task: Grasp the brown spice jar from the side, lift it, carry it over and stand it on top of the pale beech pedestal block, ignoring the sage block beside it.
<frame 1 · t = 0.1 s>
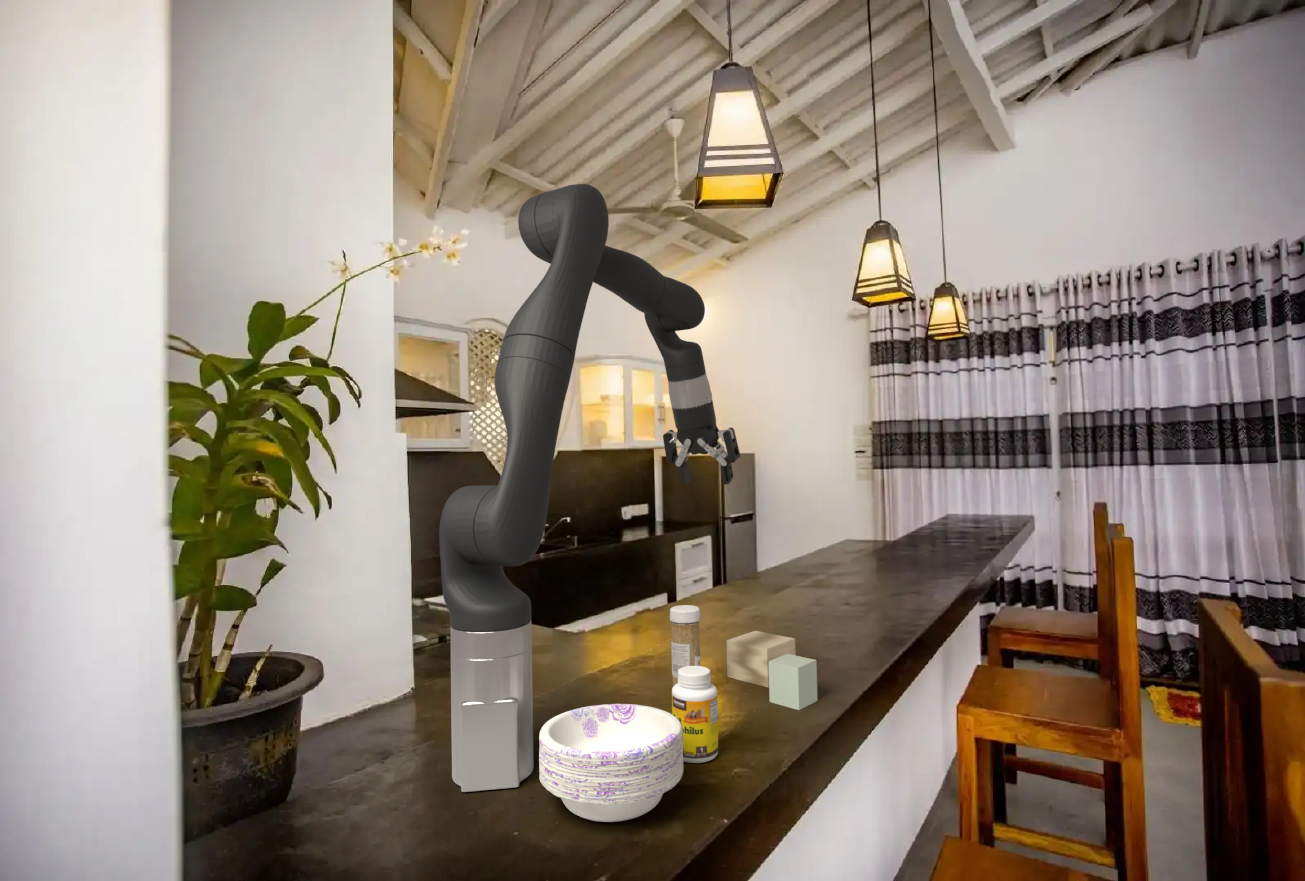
hand: (707, 482, 128), 31 cm above the worktop, tool tilted 20°, fingers open, 8 cm apart
sage block: (793, 701, 100), on the worktop
supplement bottle: (695, 756, 83), on the worktop
brown spice jar: (686, 698, 103), on the worktop
beech pedestal: (761, 676, 112), on the worktop
paper bowls: (612, 802, 72), on the worktop
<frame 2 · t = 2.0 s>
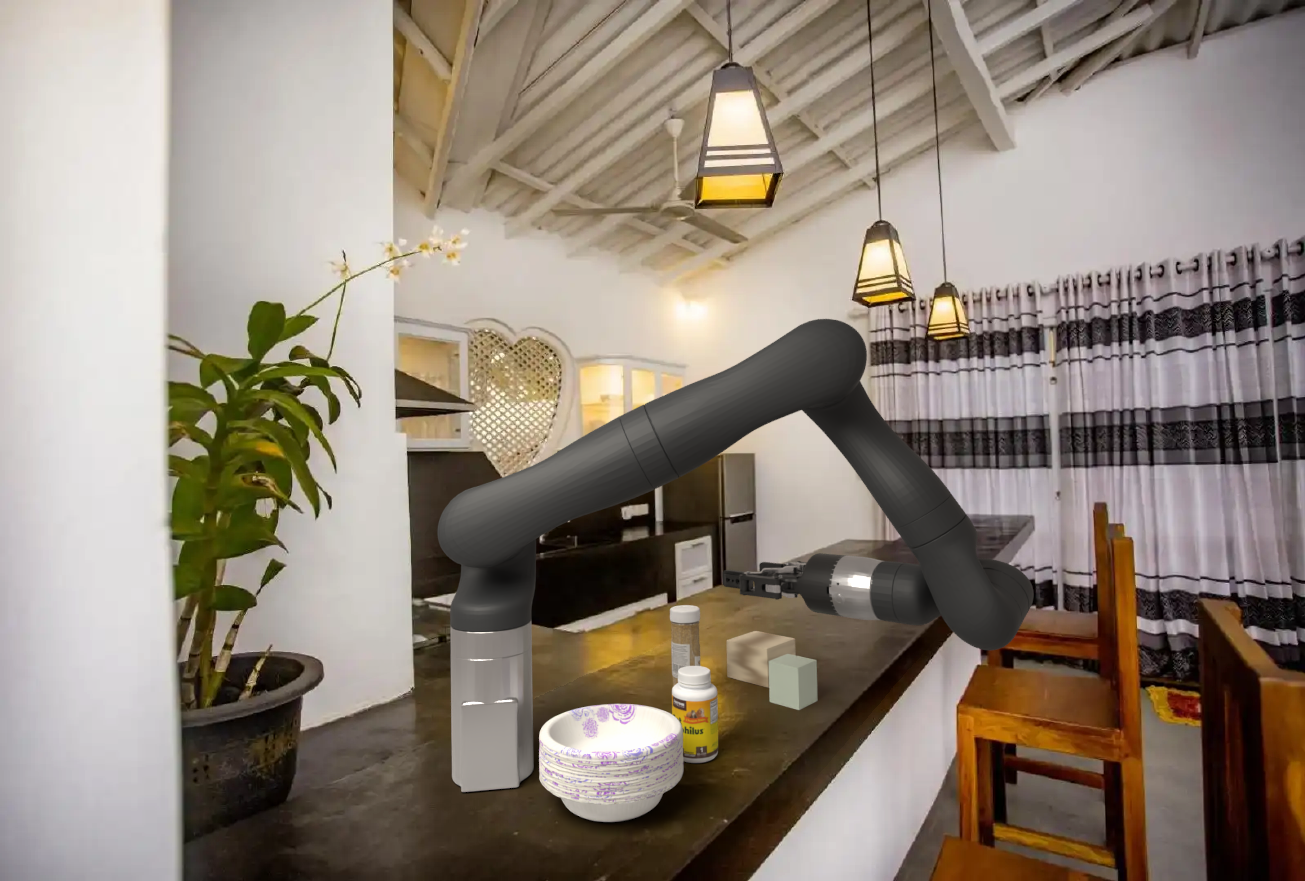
hand: (743, 573, 96), 20 cm above the worktop, tool horizontal, fingers open, 8 cm apart
nothing on the worktop moved.
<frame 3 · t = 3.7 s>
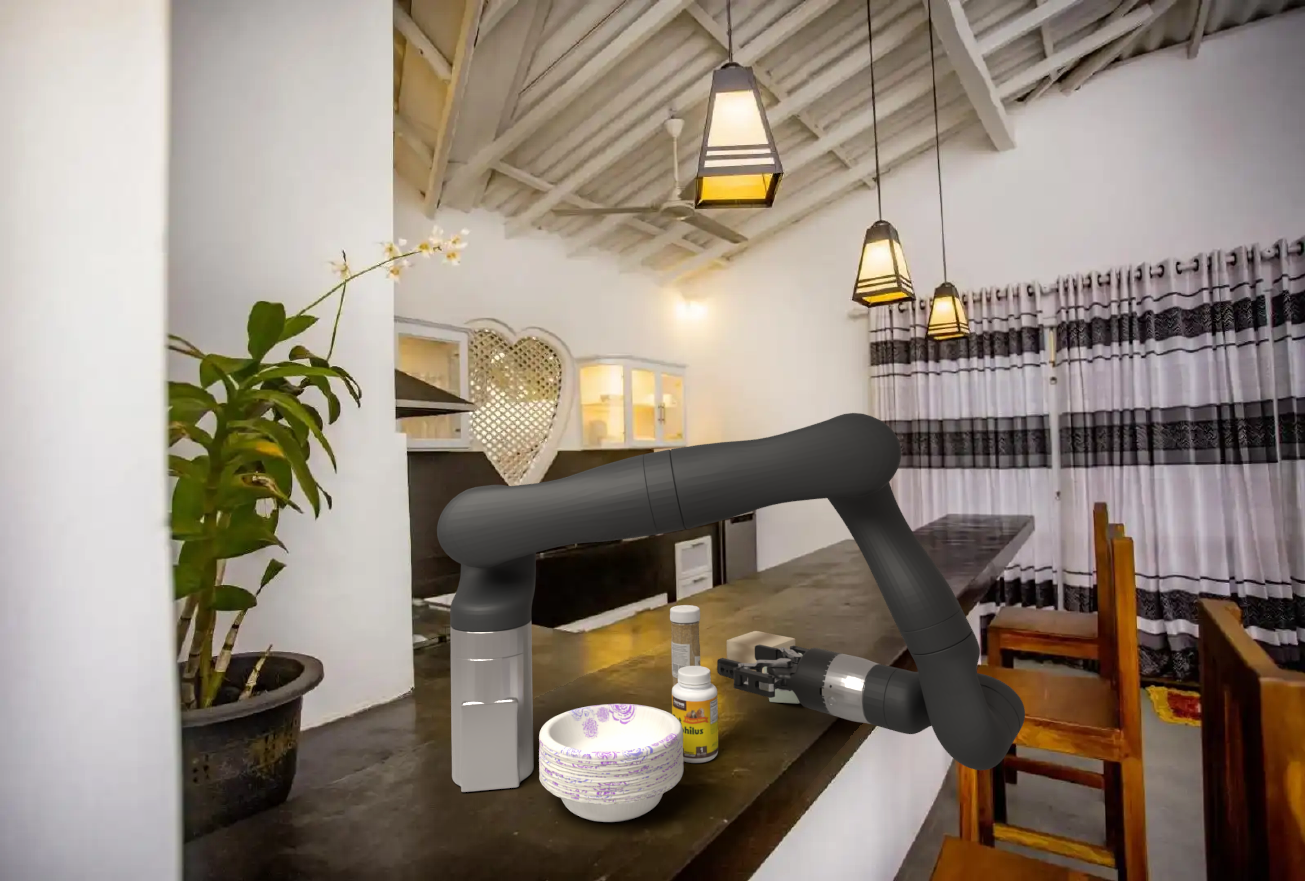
hand: (737, 658, 96), 8 cm above the worktop, tool horizontal, fingers open, 8 cm apart
sage block: (793, 698, 100), on the worktop, tilted 11°, touching gripper, hand
everything else where it was.
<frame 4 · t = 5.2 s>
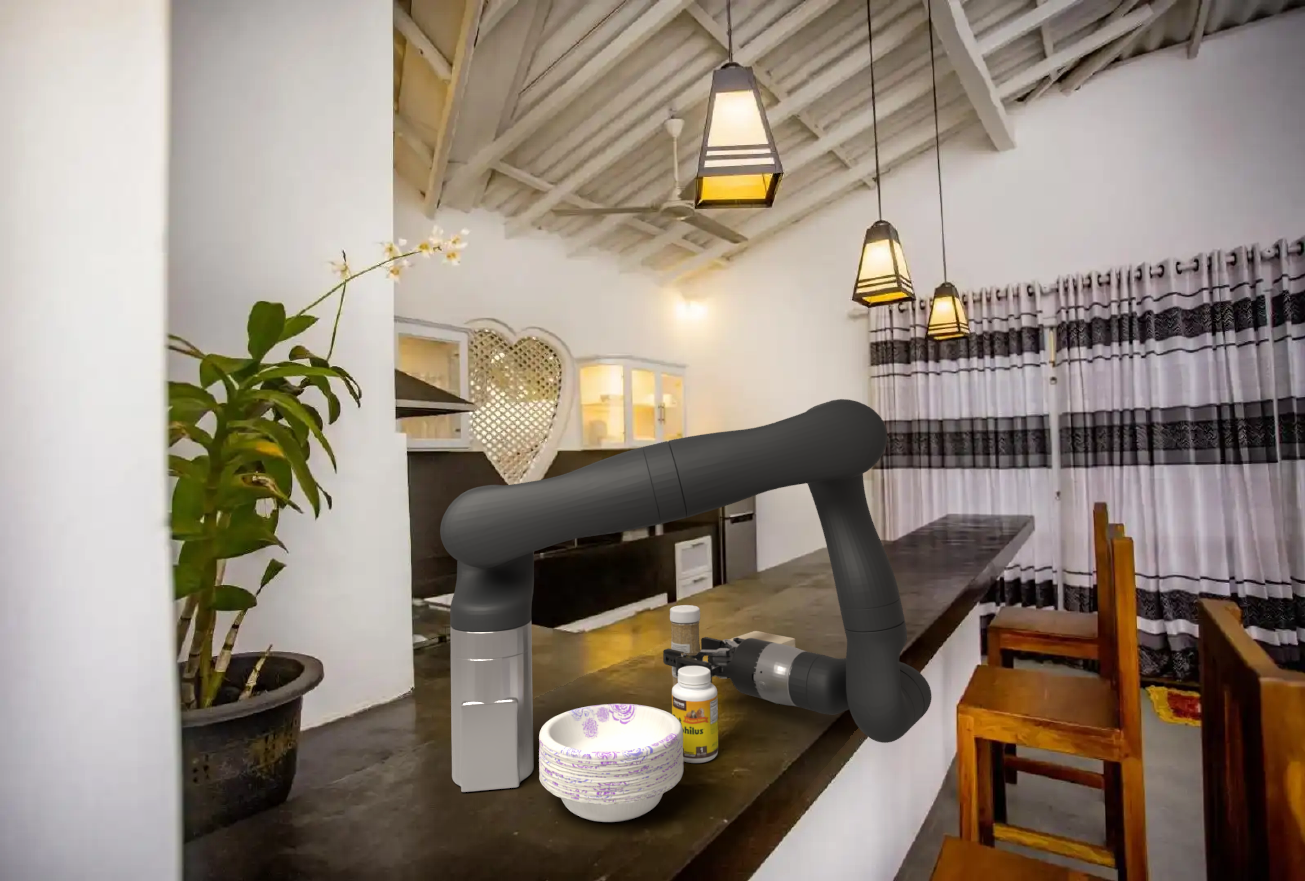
hand: (684, 649, 103), 7 cm above the worktop, tool horizontal, fingers open, 8 cm apart
sage block: (789, 684, 101), point 2 cm above the worktop, tilted 90°
everything else where it was.
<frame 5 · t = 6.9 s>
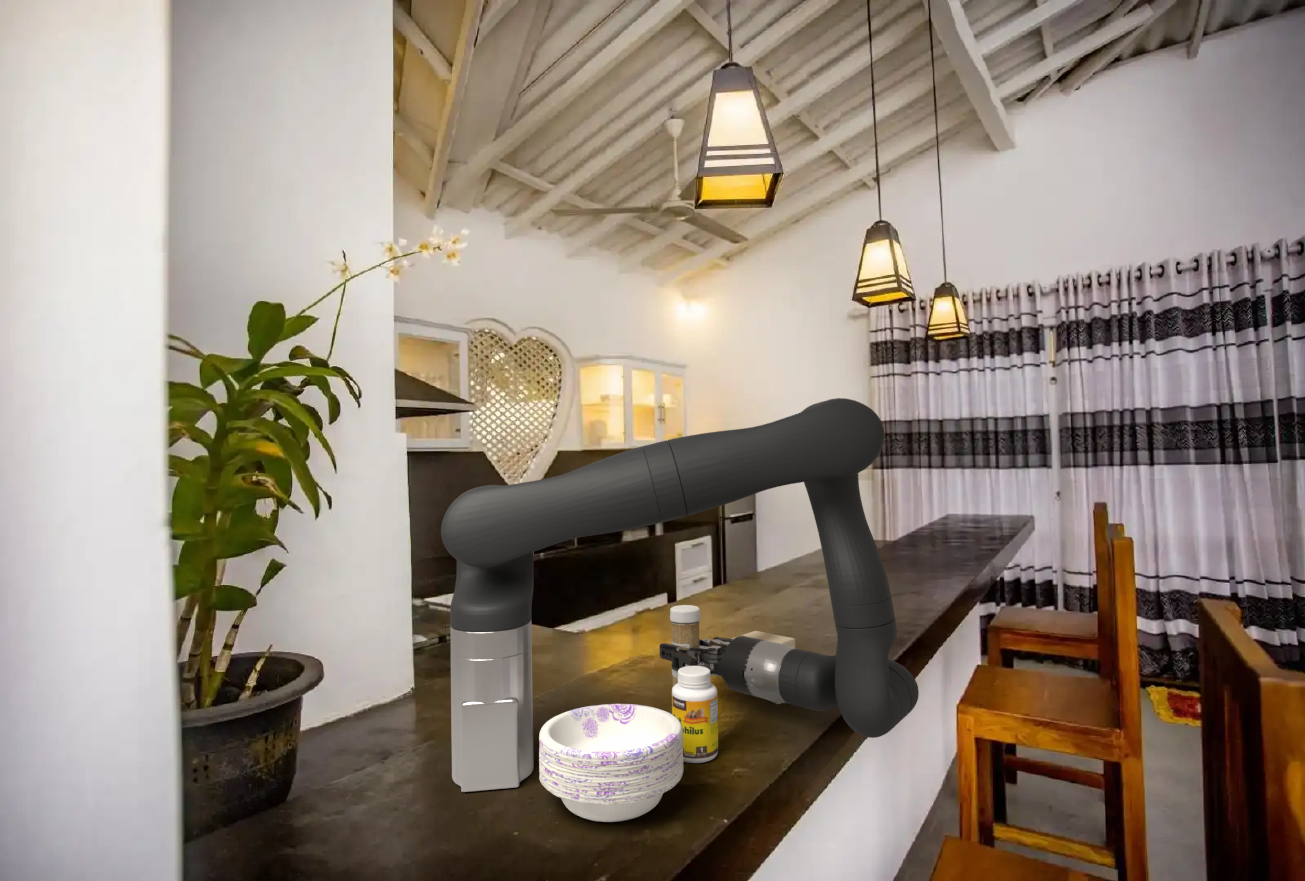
hand: (672, 646, 105), 7 cm above the worktop, tool horizontal, fingers closed on brown spice jar, 4 cm apart
brown spice jar: (686, 698, 103), on the worktop, touching gripper
everything else where it was.
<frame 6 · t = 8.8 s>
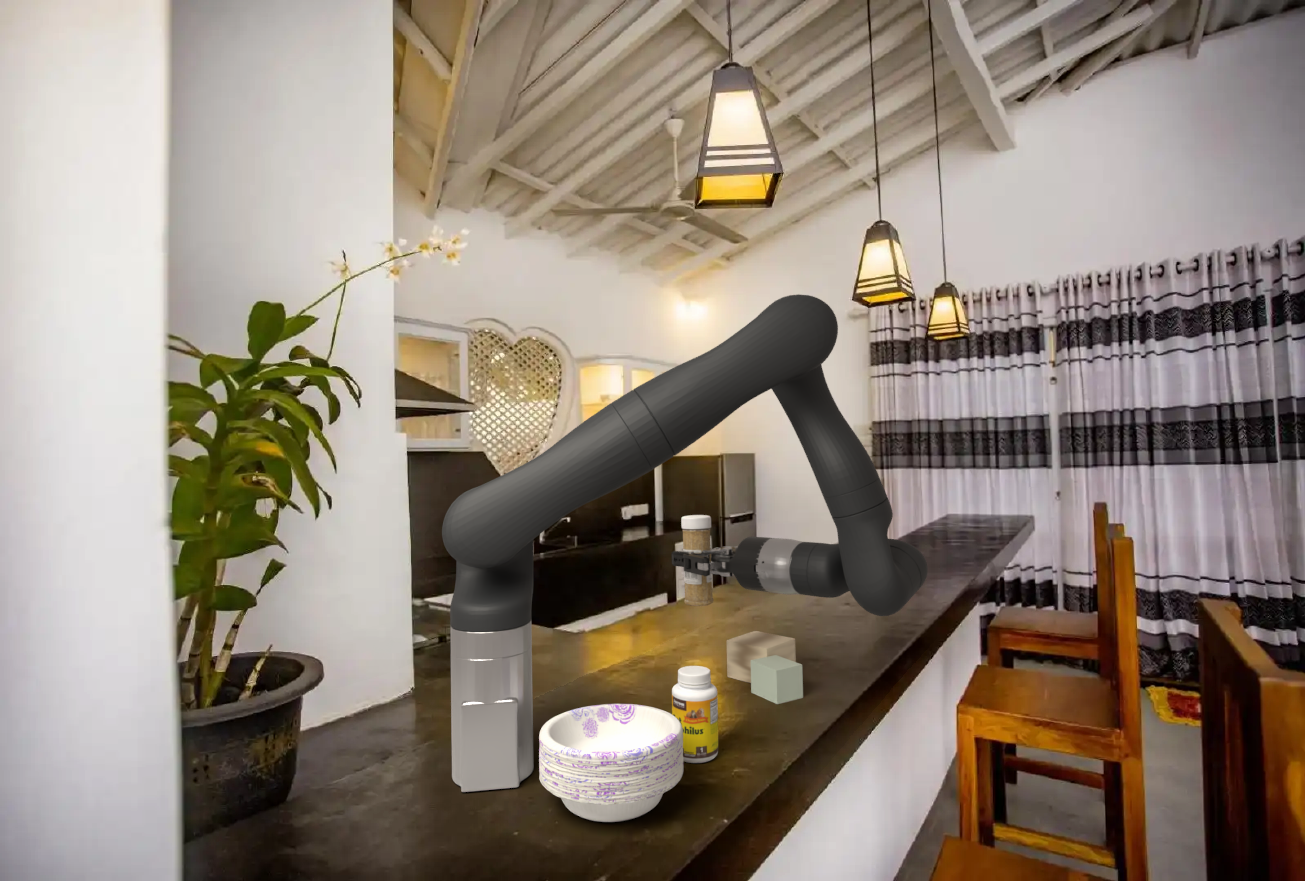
hand: (684, 556, 107), 21 cm above the worktop, tool horizontal, fingers closed on brown spice jar, 4 cm apart
brown spice jar: (698, 605, 104), point 14 cm above the worktop, touching gripper
everything else where it was.
when the fingers open (14 cm above the worktop, at t = 11.2 s): brown spice jar drops 1 cm, resting on beech pedestal.
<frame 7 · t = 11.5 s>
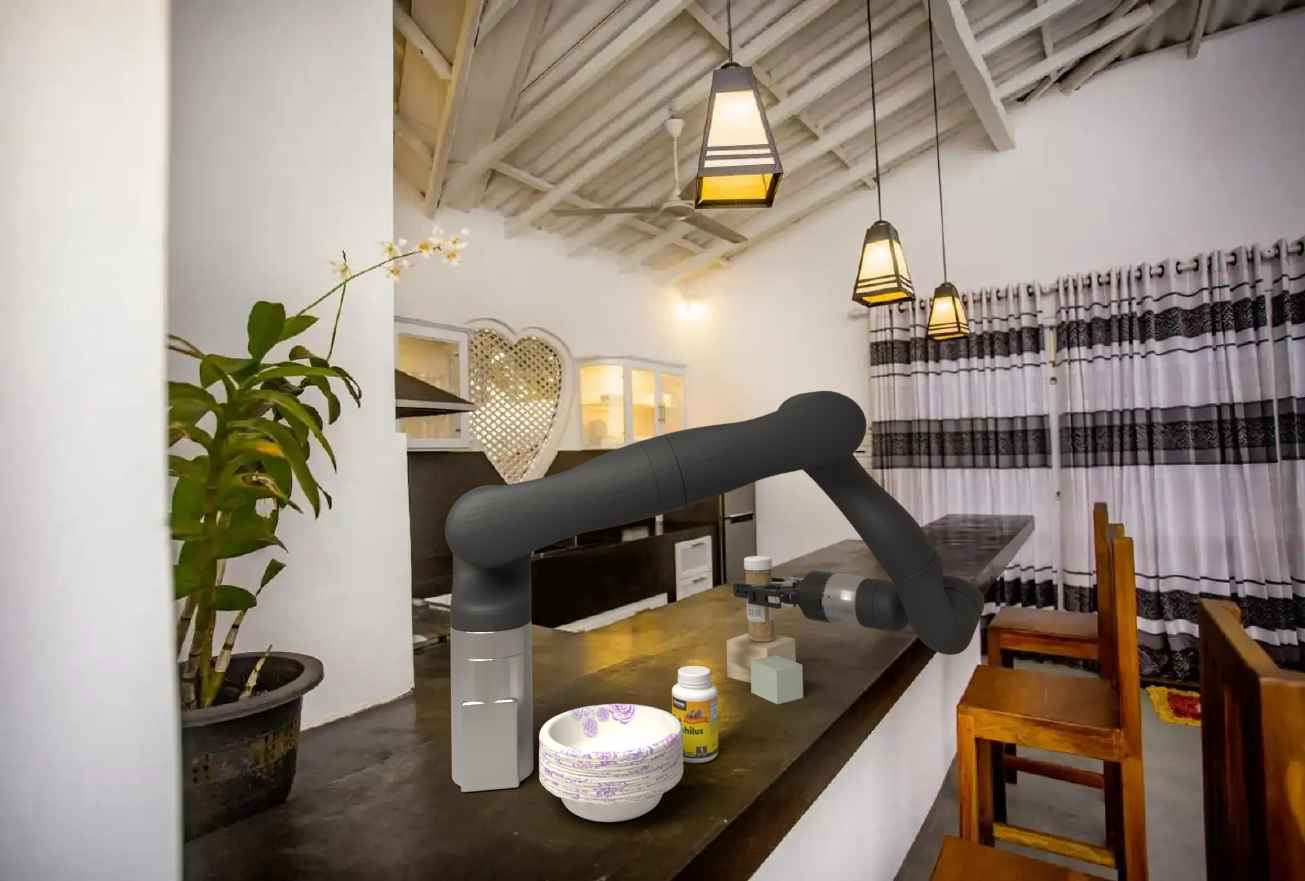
hand: (748, 585, 114), 14 cm above the worktop, tool horizontal, fingers open, 7 cm apart
brown spice jar: (761, 640, 112), point 6 cm above the worktop, touching beech pedestal
everything else where it was.
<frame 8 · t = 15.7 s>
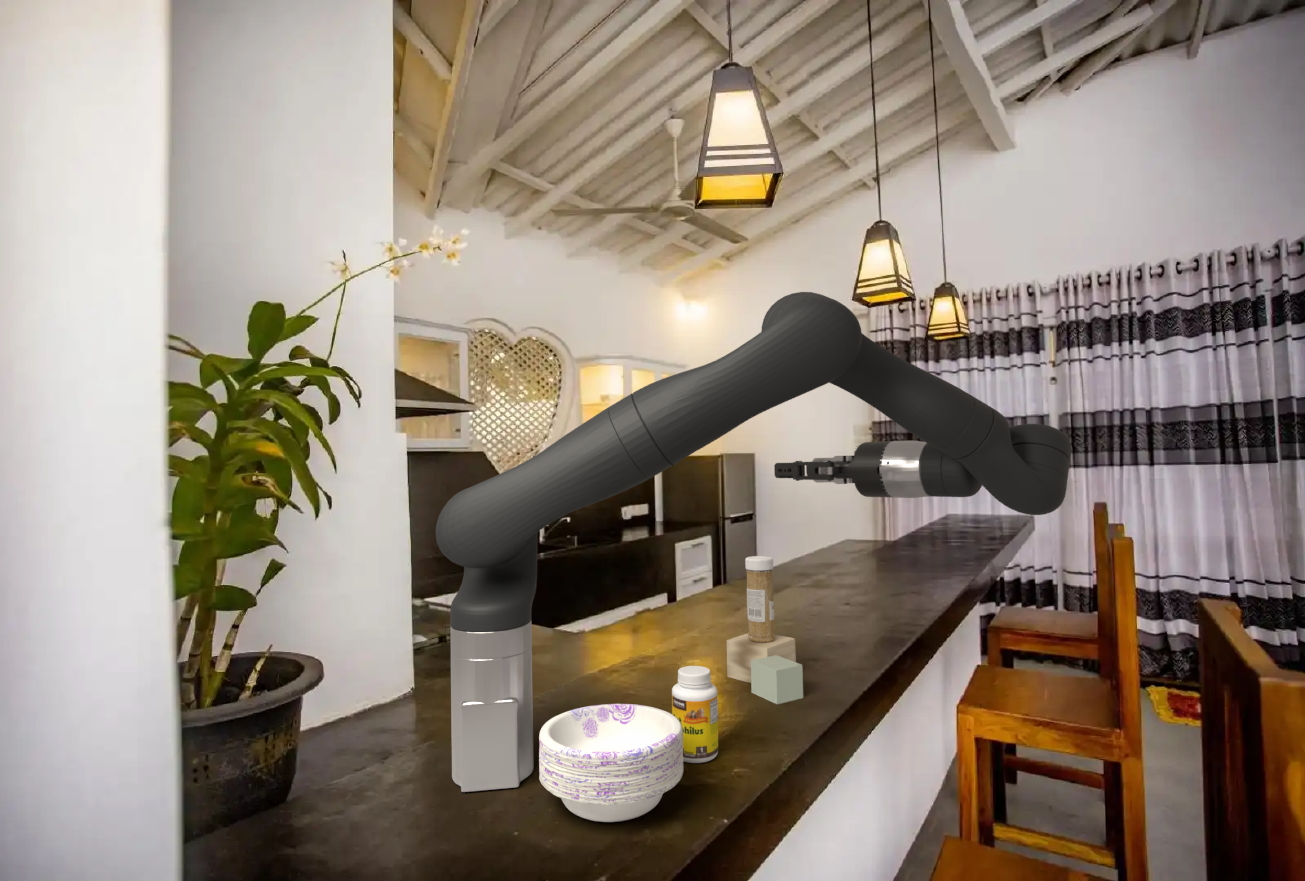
hand: (792, 469, 102), 34 cm above the worktop, tool horizontal, fingers open, 8 cm apart
nothing on the worktop moved.
at the end: brown spice jar inside the target area on the beech pedestal (0.1 cm from its centre), point 5.8 cm above the beech pedestal's base; brown spice jar tilted 1°; the gripper is holding nothing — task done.
